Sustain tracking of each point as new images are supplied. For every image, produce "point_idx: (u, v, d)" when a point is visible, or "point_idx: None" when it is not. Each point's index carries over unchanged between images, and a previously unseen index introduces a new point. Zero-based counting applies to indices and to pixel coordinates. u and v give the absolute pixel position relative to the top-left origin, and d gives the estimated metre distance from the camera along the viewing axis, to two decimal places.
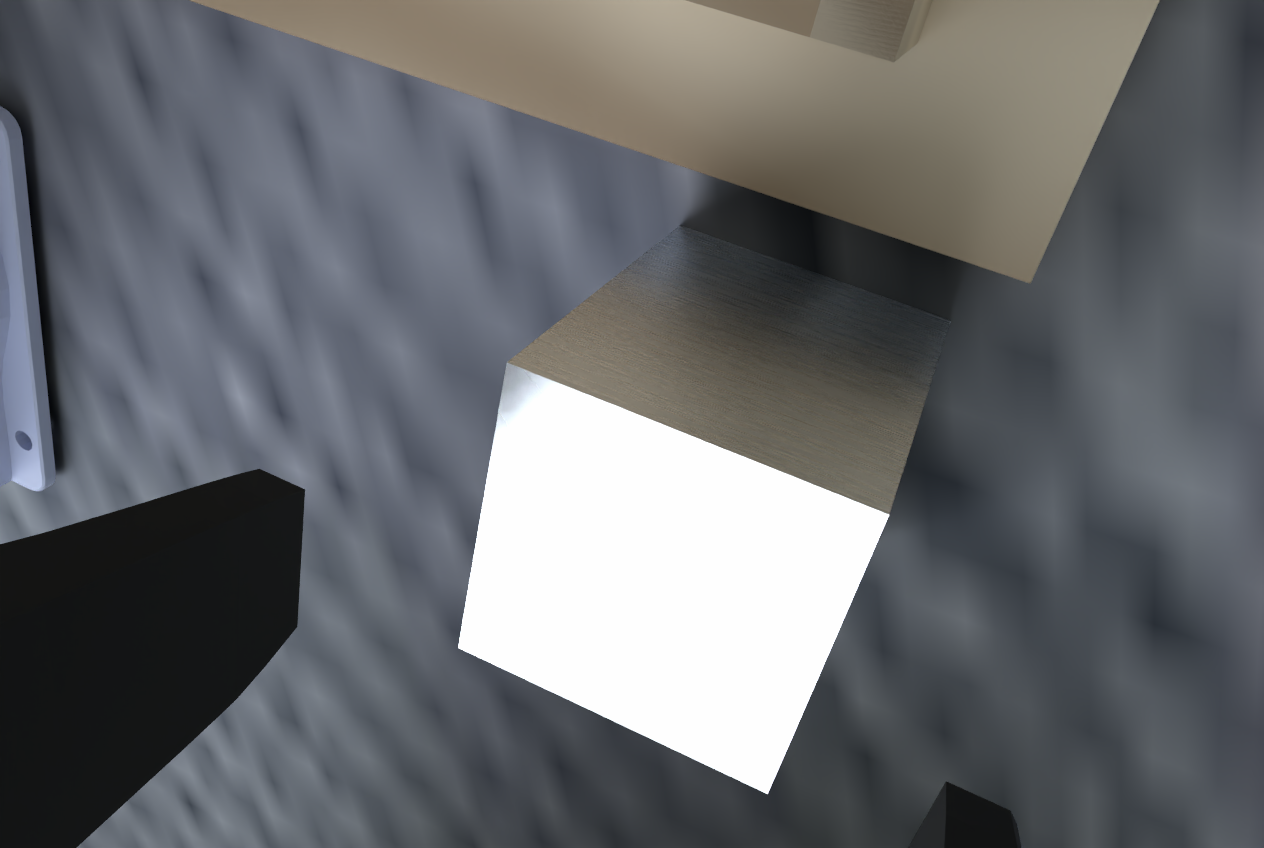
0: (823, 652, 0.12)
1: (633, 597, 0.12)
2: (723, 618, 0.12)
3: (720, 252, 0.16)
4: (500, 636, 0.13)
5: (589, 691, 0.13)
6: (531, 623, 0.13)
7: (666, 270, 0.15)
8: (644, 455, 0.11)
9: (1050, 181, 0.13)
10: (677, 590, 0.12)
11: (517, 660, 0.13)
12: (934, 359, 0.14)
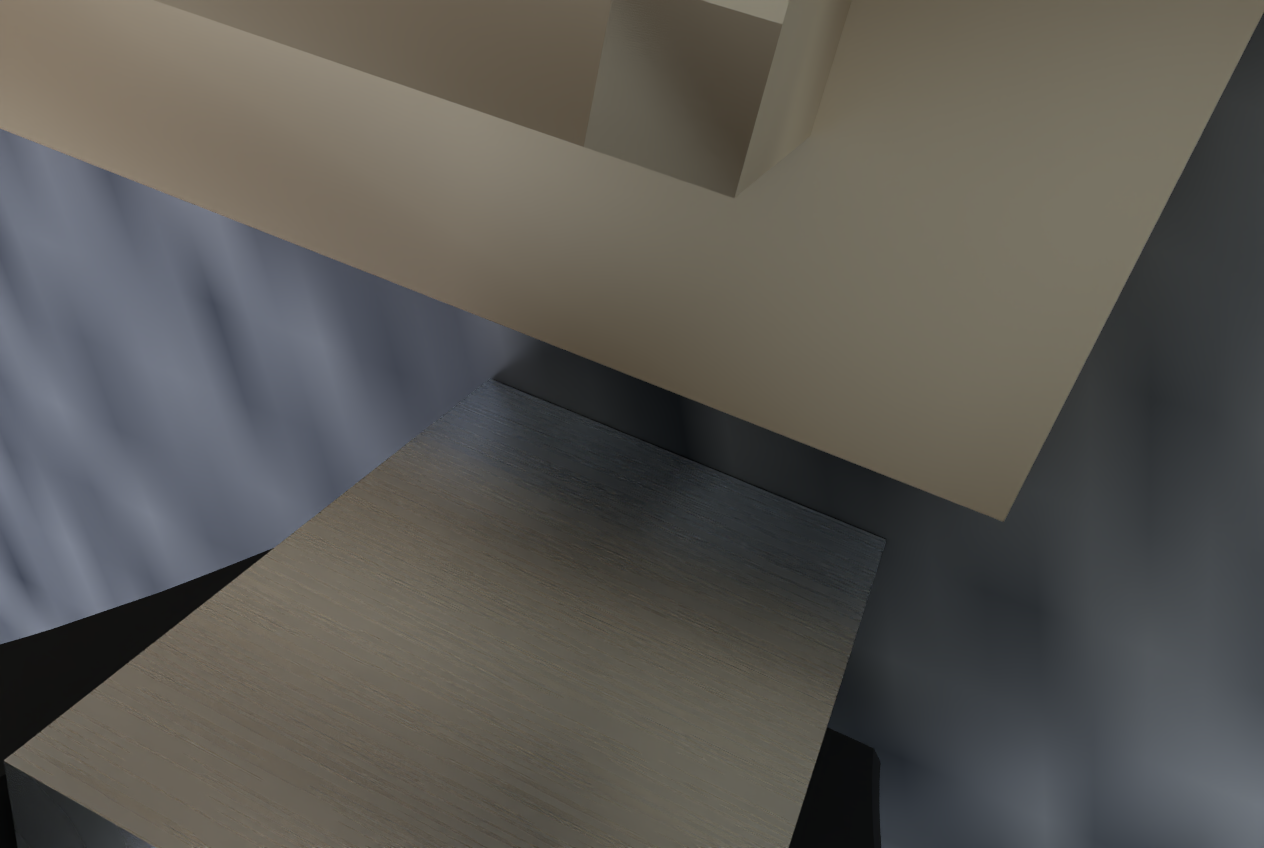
0: None
1: None
2: None
3: (538, 430, 0.10)
4: None
5: None
6: None
7: (431, 478, 0.09)
8: None
9: (1037, 369, 0.08)
10: None
11: None
12: (848, 639, 0.09)
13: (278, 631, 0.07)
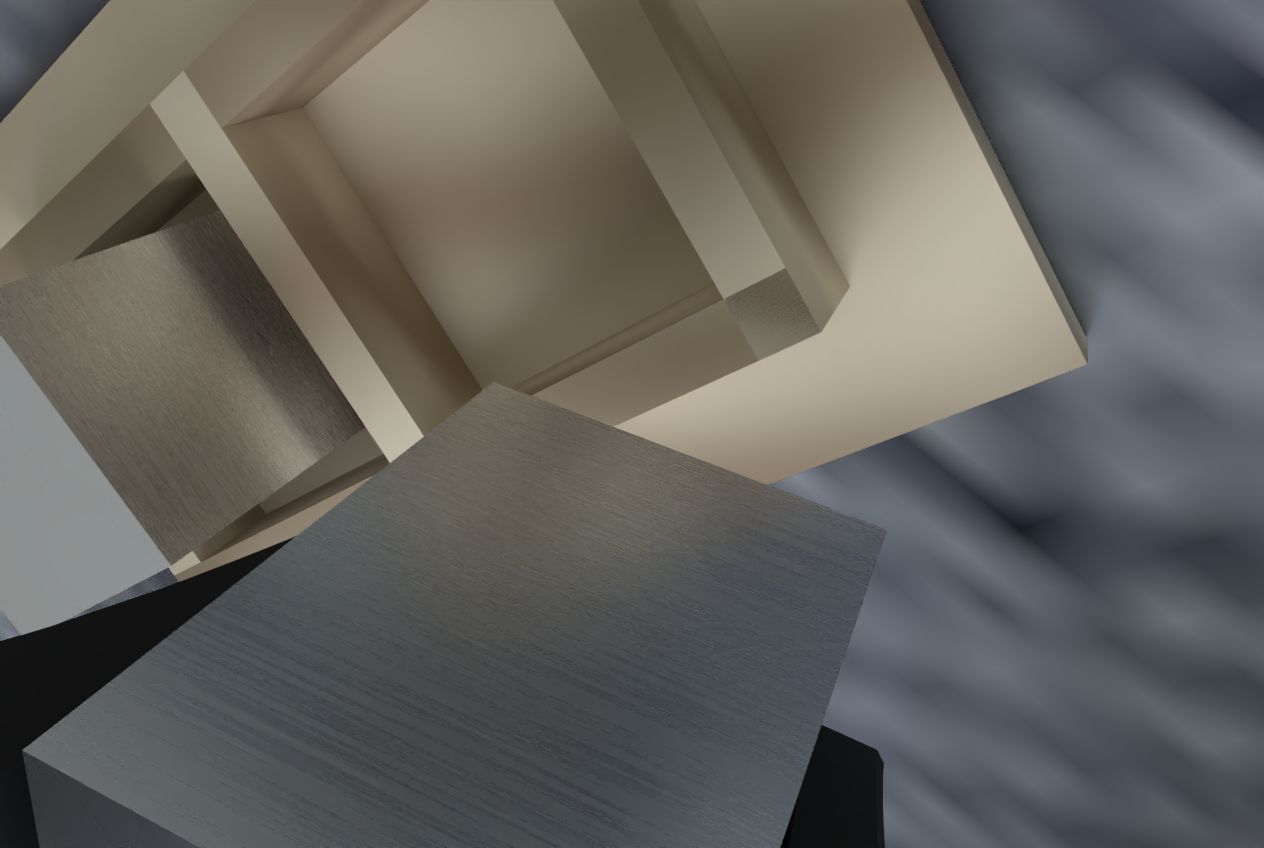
0: None
1: None
2: None
3: (541, 430, 0.11)
4: None
5: None
6: None
7: (436, 478, 0.10)
8: None
9: (1026, 291, 0.14)
10: None
11: None
12: (848, 626, 0.09)
13: (287, 625, 0.08)
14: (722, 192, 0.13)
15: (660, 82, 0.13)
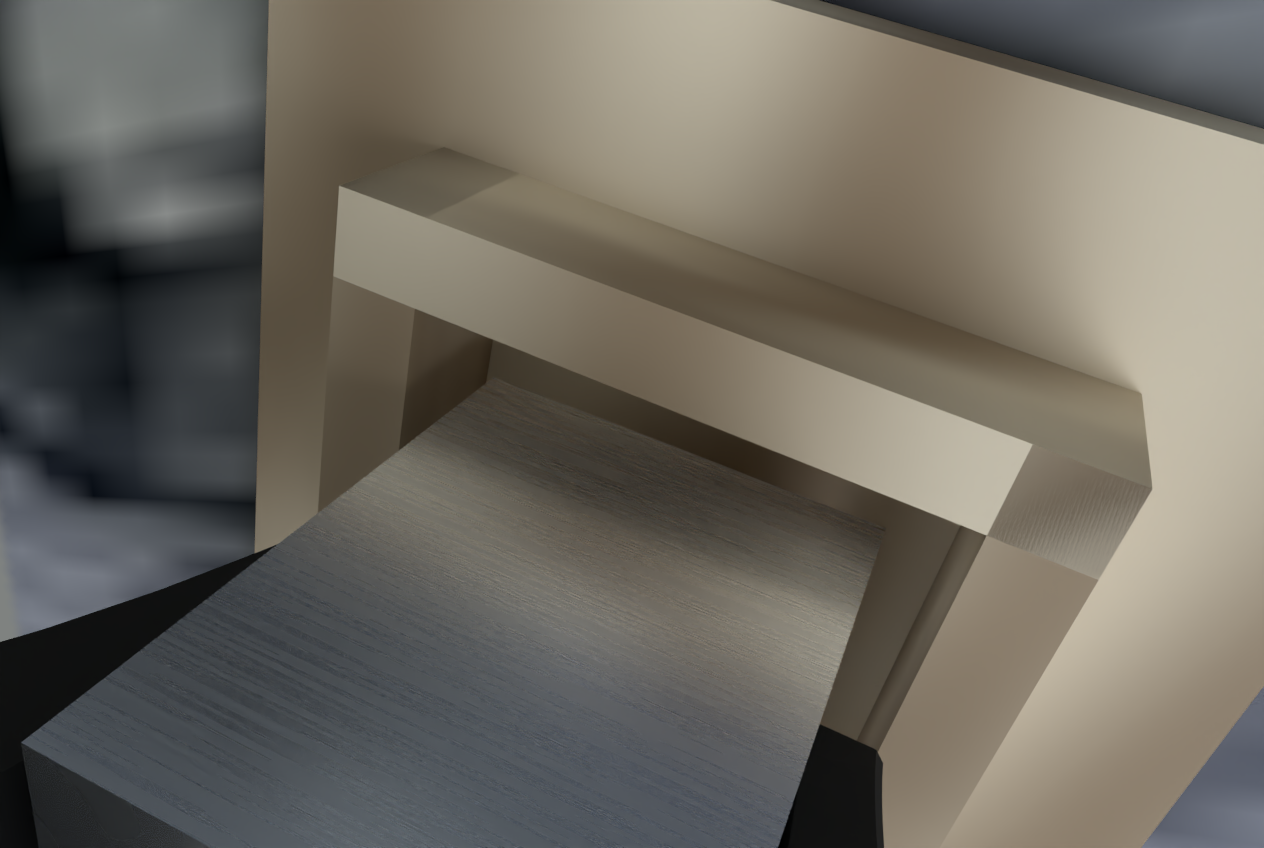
0: None
1: None
2: None
3: (541, 426, 0.11)
4: None
5: None
6: None
7: (437, 472, 0.10)
8: None
9: None
10: None
11: None
12: (847, 624, 0.09)
13: (286, 619, 0.08)
14: (879, 415, 0.09)
15: (712, 351, 0.09)
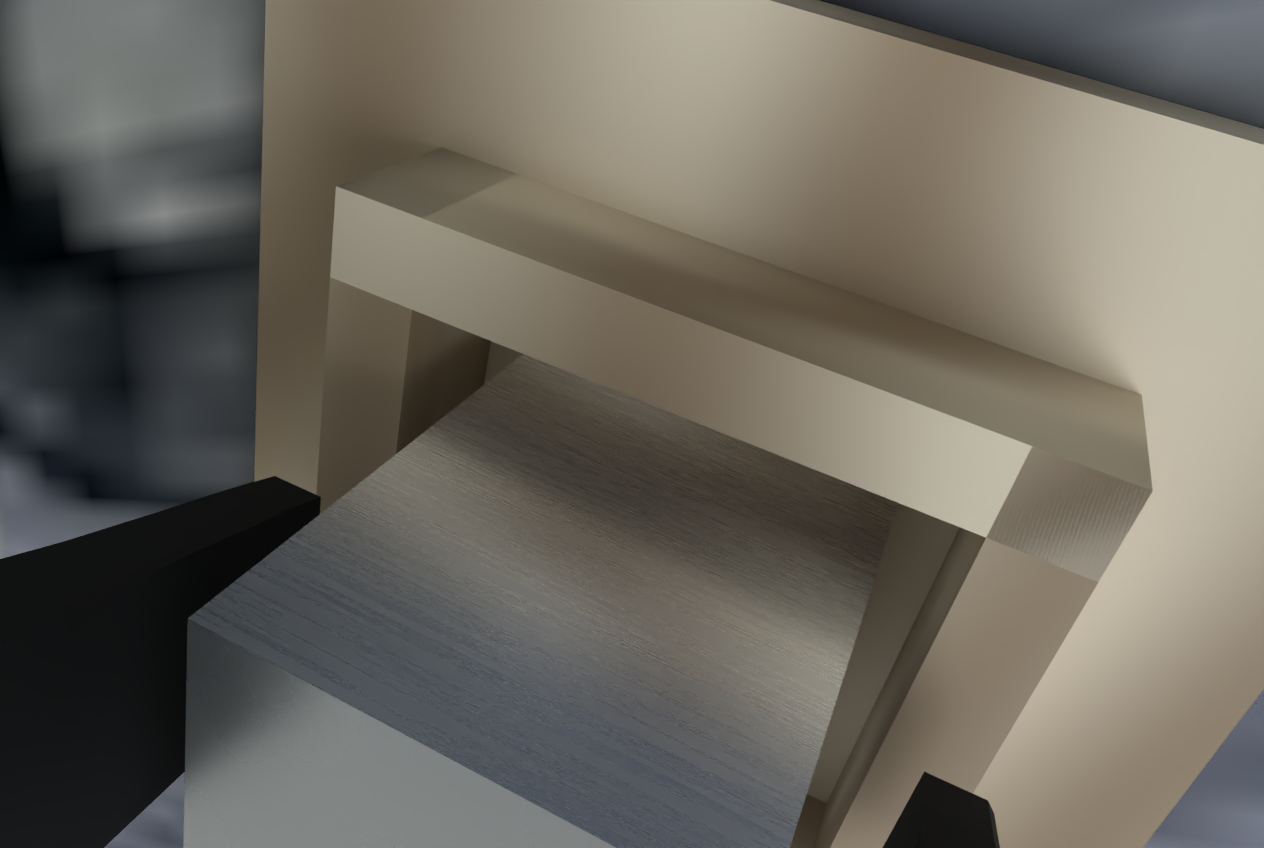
0: None
1: None
2: None
3: None
4: None
5: None
6: None
7: (509, 413, 0.11)
8: (396, 777, 0.07)
9: None
10: None
11: None
12: (875, 560, 0.10)
13: (395, 530, 0.09)
14: (877, 416, 0.09)
15: (710, 353, 0.09)
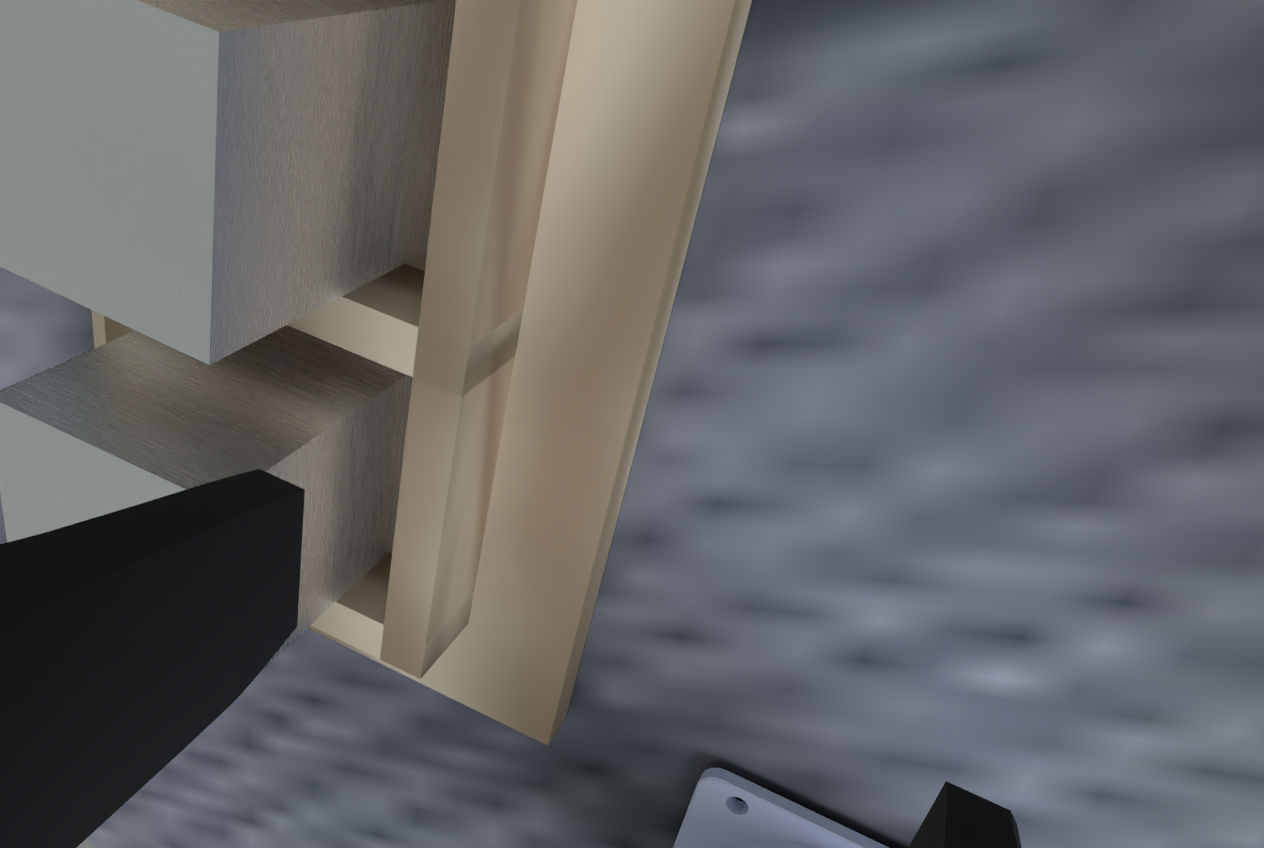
0: (211, 196, 0.13)
1: (67, 162, 0.13)
2: (134, 172, 0.13)
3: None
4: None
5: (61, 276, 0.14)
6: (4, 207, 0.14)
7: None
8: (40, 1, 0.12)
9: None
10: (95, 147, 0.13)
11: (4, 253, 0.15)
12: (419, 2, 0.15)
13: None
14: None
15: None
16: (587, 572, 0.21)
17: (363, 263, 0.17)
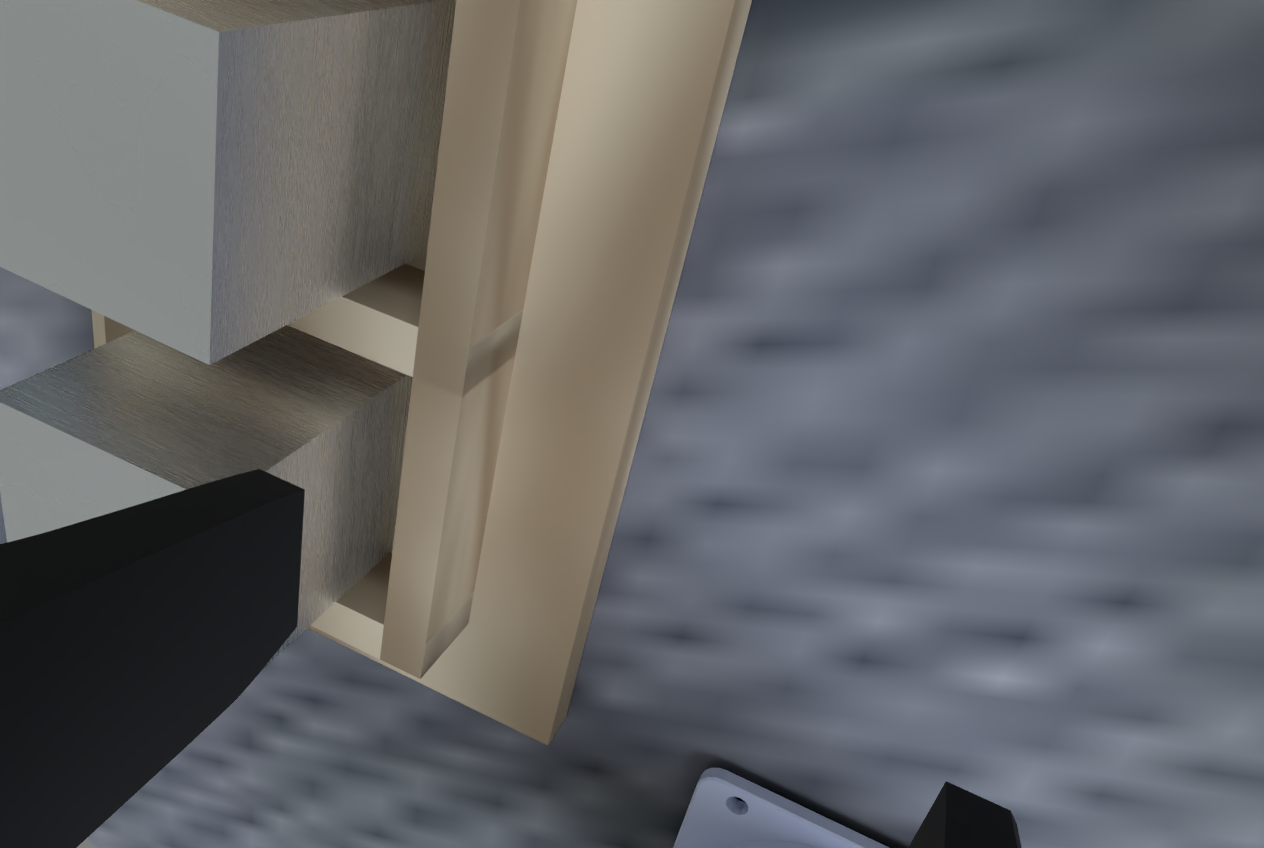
0: (211, 196, 0.13)
1: (67, 162, 0.13)
2: (134, 172, 0.13)
3: None
4: None
5: (61, 276, 0.14)
6: (4, 207, 0.14)
7: None
8: (40, 1, 0.12)
9: None
10: (95, 147, 0.13)
11: (4, 253, 0.15)
12: (419, 2, 0.15)
13: None
14: None
15: None
16: (587, 572, 0.21)
17: (363, 263, 0.17)
